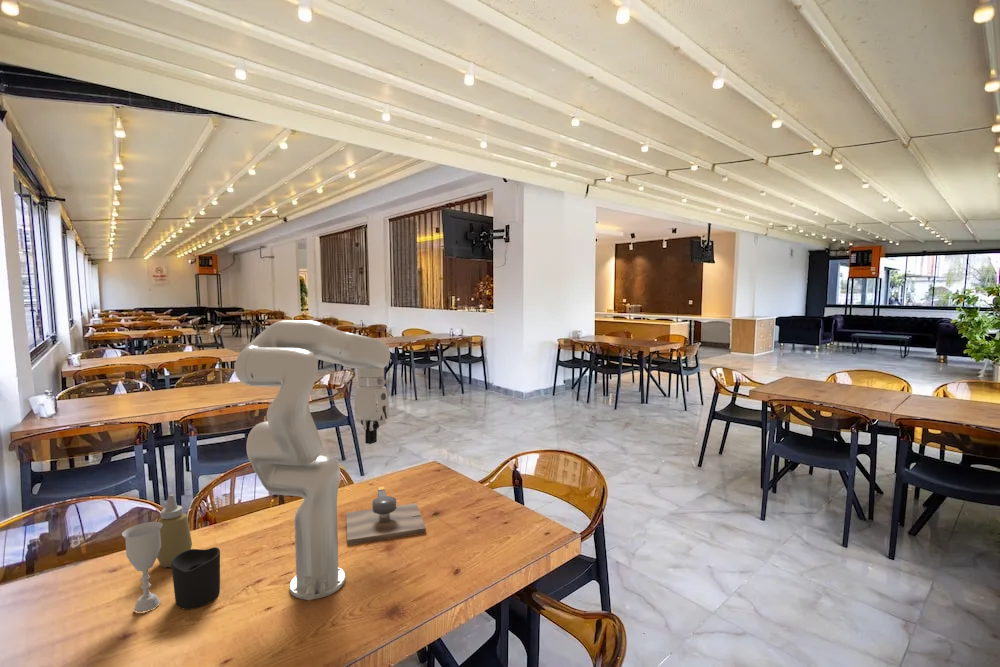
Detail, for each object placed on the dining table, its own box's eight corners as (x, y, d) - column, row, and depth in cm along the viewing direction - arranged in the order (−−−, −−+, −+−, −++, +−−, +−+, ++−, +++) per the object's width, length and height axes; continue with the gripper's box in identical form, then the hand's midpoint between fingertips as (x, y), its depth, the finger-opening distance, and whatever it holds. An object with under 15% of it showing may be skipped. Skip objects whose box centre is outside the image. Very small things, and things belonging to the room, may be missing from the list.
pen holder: (208, 581, 118) (206, 542, 117) (230, 593, 113) (228, 552, 112) (165, 602, 110) (163, 560, 109) (187, 616, 105) (185, 572, 104)
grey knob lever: (391, 498, 159) (391, 484, 159) (397, 519, 145) (397, 504, 144) (370, 501, 157) (369, 487, 157) (373, 522, 142) (373, 507, 142)
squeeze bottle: (198, 559, 128) (195, 493, 126) (164, 574, 121) (160, 504, 119) (183, 551, 132) (180, 486, 131) (149, 564, 125) (145, 497, 124)
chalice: (161, 592, 113) (157, 518, 112) (171, 604, 109) (167, 527, 108) (122, 608, 108) (117, 530, 106) (131, 621, 103) (126, 540, 102)
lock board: (425, 533, 142) (425, 517, 142) (347, 545, 135) (346, 528, 135) (416, 507, 159) (416, 493, 159) (346, 517, 152) (346, 502, 152)
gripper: (398, 382, 146) (398, 443, 146) (361, 379, 152) (361, 437, 153) (381, 385, 139) (381, 449, 139) (343, 382, 146) (343, 442, 146)
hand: (371, 442), depth 146 cm, fingers closed
